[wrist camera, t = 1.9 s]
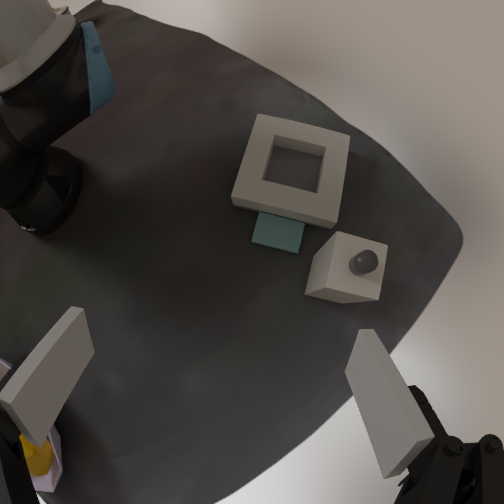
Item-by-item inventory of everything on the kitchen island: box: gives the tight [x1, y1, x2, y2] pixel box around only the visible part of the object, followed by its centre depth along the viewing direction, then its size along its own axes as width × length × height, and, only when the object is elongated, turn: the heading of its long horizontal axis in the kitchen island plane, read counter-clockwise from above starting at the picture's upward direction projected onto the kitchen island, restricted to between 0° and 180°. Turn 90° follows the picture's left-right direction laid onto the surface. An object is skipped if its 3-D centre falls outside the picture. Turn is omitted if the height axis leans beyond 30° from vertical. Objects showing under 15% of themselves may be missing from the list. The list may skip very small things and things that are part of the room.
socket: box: [231, 114, 350, 254], centre depth 36 cm, size 17×13×4 cm
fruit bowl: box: [0, 358, 63, 492], centre depth 26 cm, size 28×27×11 cm
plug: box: [304, 231, 388, 304], centre depth 28 cm, size 5×5×14 cm
